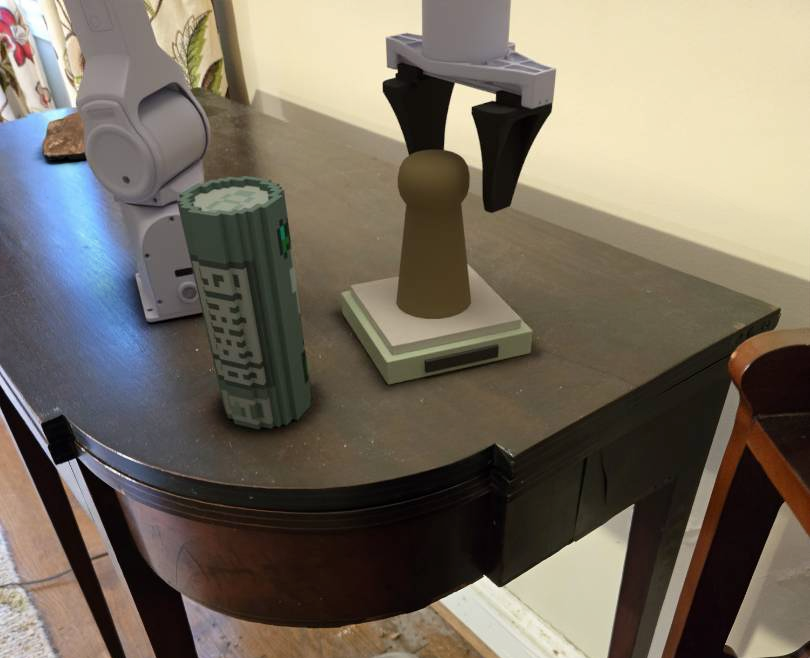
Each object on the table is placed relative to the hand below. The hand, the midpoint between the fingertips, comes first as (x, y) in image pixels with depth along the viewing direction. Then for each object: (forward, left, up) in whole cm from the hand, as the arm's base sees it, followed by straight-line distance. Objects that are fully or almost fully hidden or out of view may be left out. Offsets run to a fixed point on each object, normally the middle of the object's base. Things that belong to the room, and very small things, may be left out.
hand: (461, 193), depth 58 cm
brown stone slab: (+61, +26, -11) cm, 67 cm away
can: (-6, +18, -11) cm, 21 cm away
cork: (-1, +3, -8) cm, 8 cm away
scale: (-1, +3, -10) cm, 11 cm away
